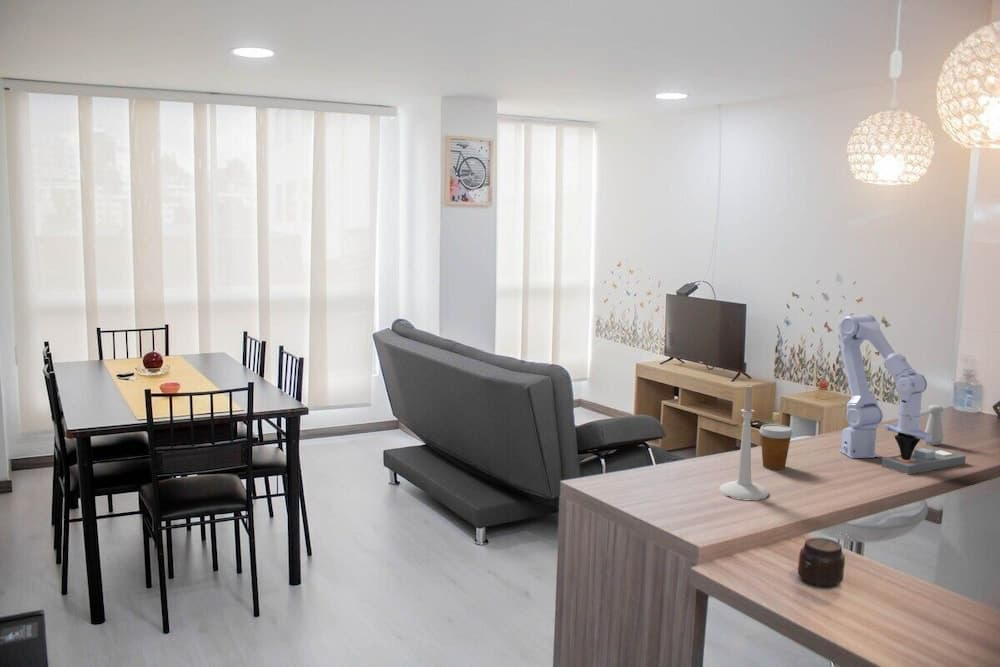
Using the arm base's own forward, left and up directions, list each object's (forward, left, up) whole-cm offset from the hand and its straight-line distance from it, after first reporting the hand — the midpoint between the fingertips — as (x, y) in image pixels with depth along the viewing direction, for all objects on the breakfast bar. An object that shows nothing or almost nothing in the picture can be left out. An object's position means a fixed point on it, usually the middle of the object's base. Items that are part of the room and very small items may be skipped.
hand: (905, 459), depth 247 cm
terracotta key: (0, 0, -2) cm, 2 cm away
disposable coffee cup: (-39, +5, -3) cm, 39 cm away
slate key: (+8, +3, -1) cm, 8 cm away
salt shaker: (+24, +25, -3) cm, 35 cm away
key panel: (+7, +3, -3) cm, 8 cm away
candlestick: (-57, -17, -3) cm, 59 cm away
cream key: (+15, +5, -2) cm, 16 cm away
